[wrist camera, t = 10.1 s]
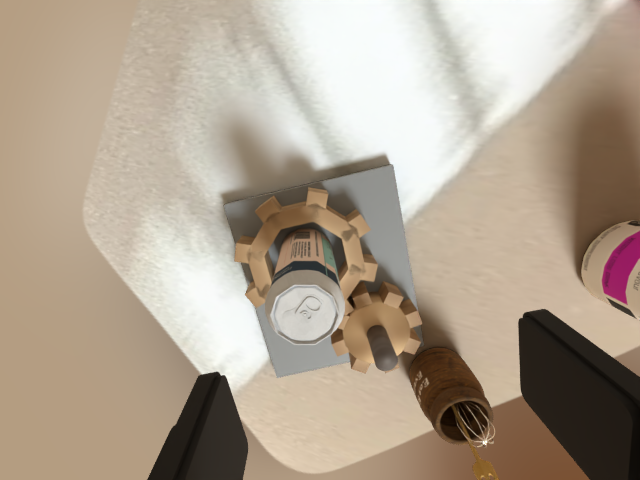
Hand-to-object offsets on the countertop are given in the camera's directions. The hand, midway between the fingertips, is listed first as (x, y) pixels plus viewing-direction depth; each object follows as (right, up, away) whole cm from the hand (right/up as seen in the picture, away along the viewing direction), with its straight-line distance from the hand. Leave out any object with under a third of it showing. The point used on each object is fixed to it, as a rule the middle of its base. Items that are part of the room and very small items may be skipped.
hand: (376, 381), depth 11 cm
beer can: (-3, +3, +21) cm, 21 cm away
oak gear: (-3, +3, +20) cm, 21 cm away
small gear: (+3, -3, +22) cm, 23 cm away
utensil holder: (+10, -9, +25) cm, 29 cm away
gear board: (-1, +1, +22) cm, 22 cm away
